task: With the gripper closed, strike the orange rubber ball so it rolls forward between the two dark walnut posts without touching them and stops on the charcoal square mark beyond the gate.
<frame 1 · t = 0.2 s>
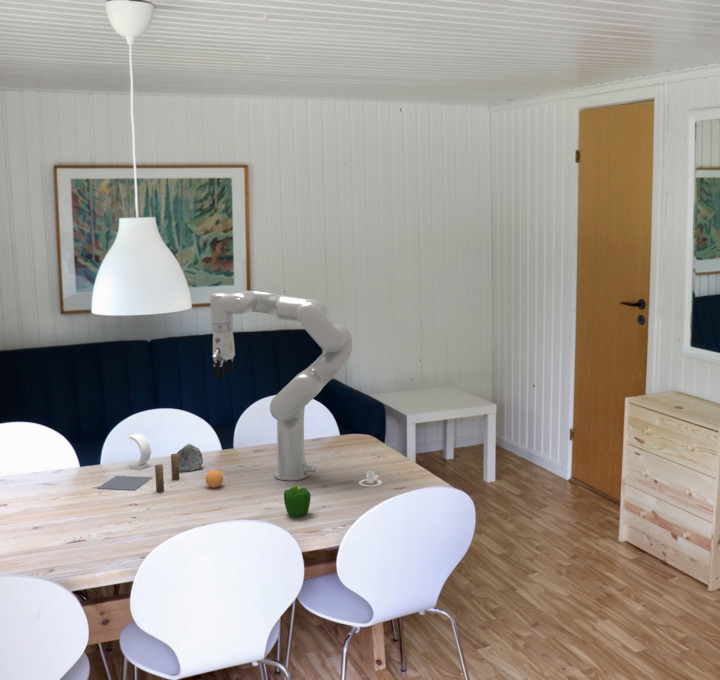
hand: (224, 375, 289), 36 cm above the table, tool pointing down, fingers open, 9 cm apart
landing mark: (125, 483, 285), on the table
post left: (160, 491, 276), on the table
headphone stand: (141, 467, 305), on the table
bell pepper: (297, 515, 252), on the table
post right: (175, 479, 289), on the table
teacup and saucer: (379, 483, 282), on the table
ball: (214, 478, 279), on the table
stone: (189, 469, 301), on the table
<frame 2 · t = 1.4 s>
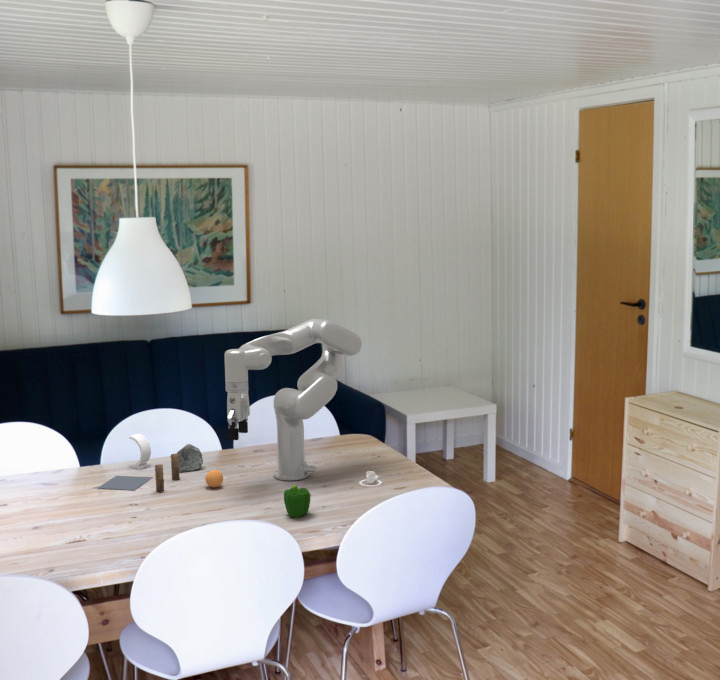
hand: (238, 436, 275), 18 cm above the table, tool pointing down, fingers open, 8 cm apart
nothing on the table moved.
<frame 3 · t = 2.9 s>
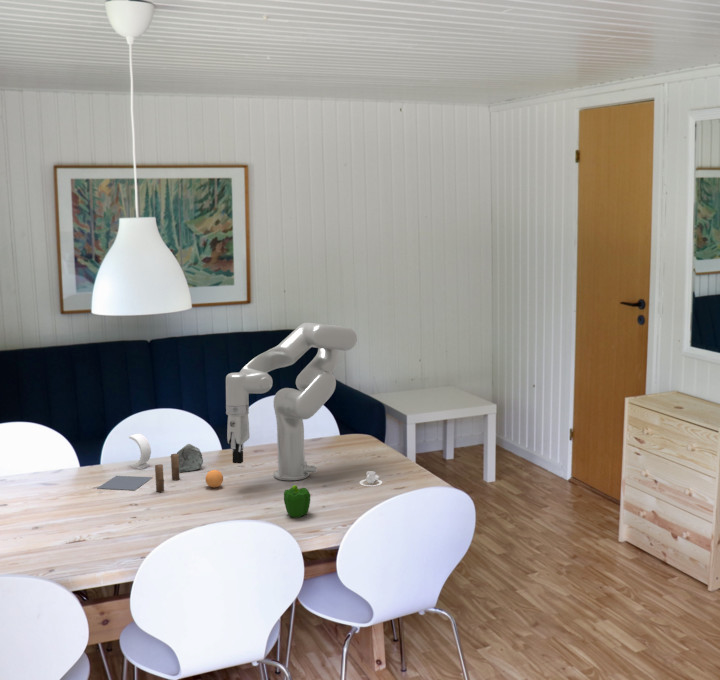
hand: (237, 462, 276), 9 cm above the table, tool pointing down, fingers closed
nothing on the table moved.
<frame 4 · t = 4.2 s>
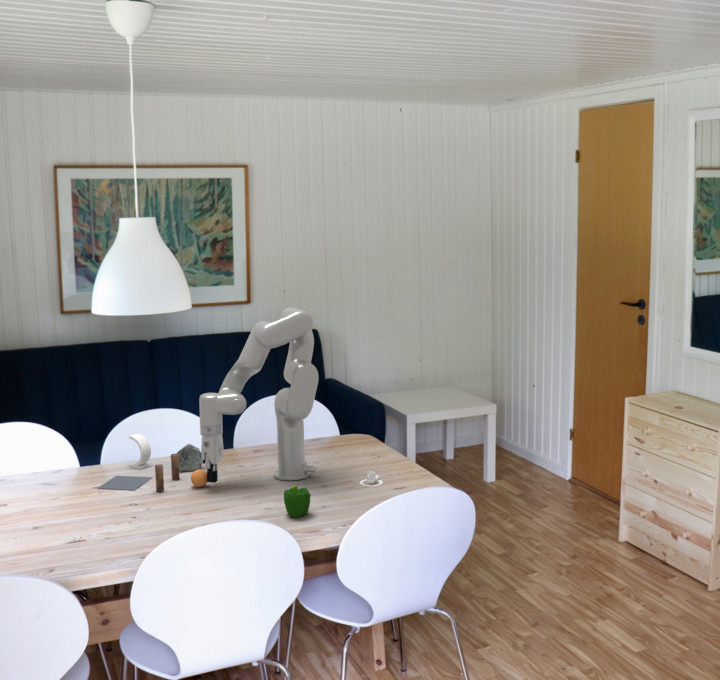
hand: (212, 481, 279), 2 cm above the table, tool pointing down, fingers closed
ball: (199, 478, 280), on the table
everything else where it was.
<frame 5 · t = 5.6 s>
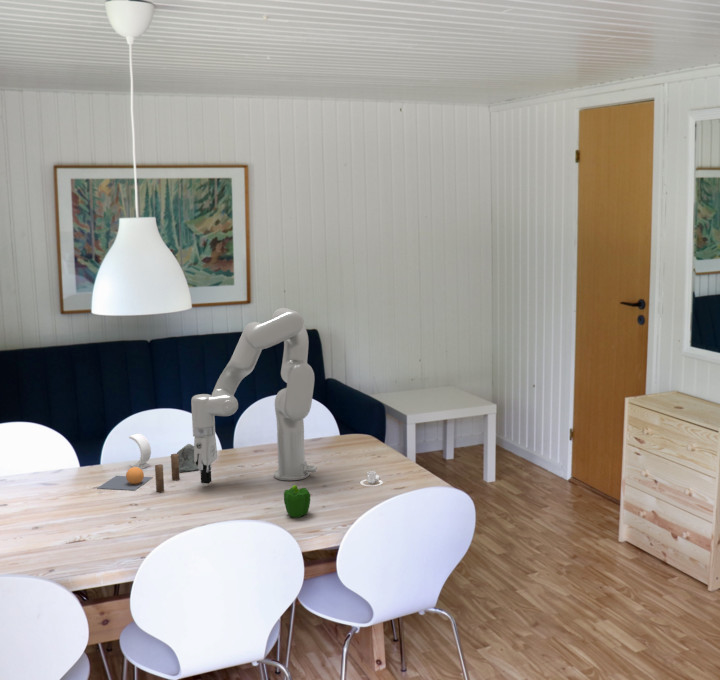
hand: (206, 482, 280), 2 cm above the table, tool pointing down, fingers closed
ball: (134, 475, 284), on the table
everything else where it was.
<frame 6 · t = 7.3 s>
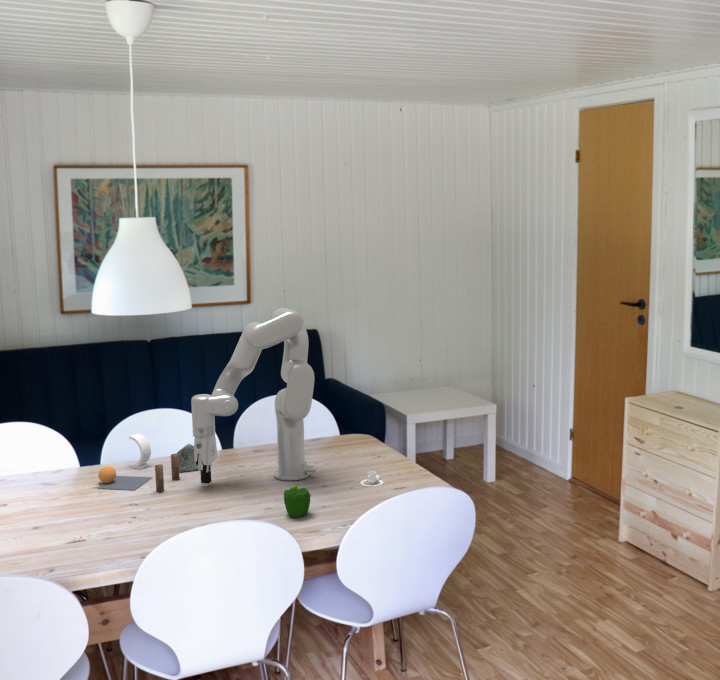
hand: (206, 482, 280), 2 cm above the table, tool pointing down, fingers closed
ball: (107, 474, 286), on the table
everything else where it was.
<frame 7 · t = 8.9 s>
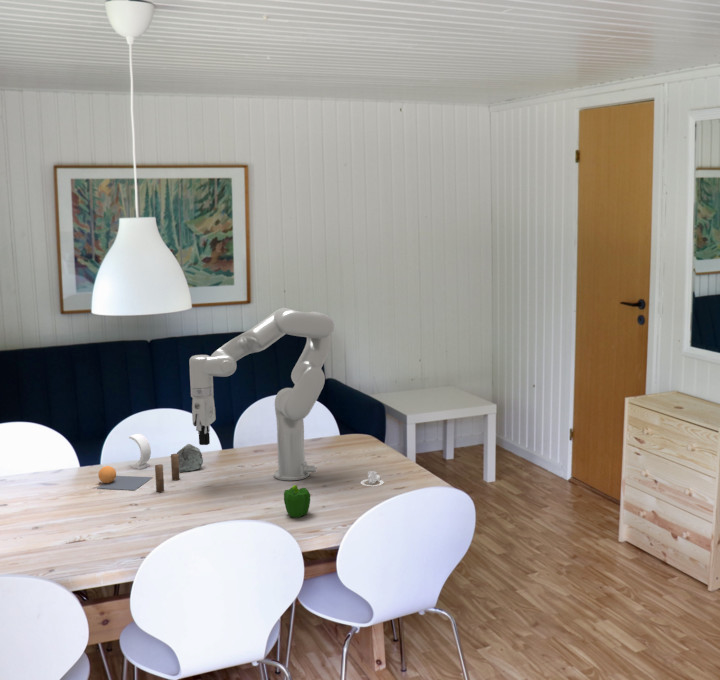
hand: (204, 444, 278), 15 cm above the table, tool pointing down, fingers closed
nothing on the table moved.
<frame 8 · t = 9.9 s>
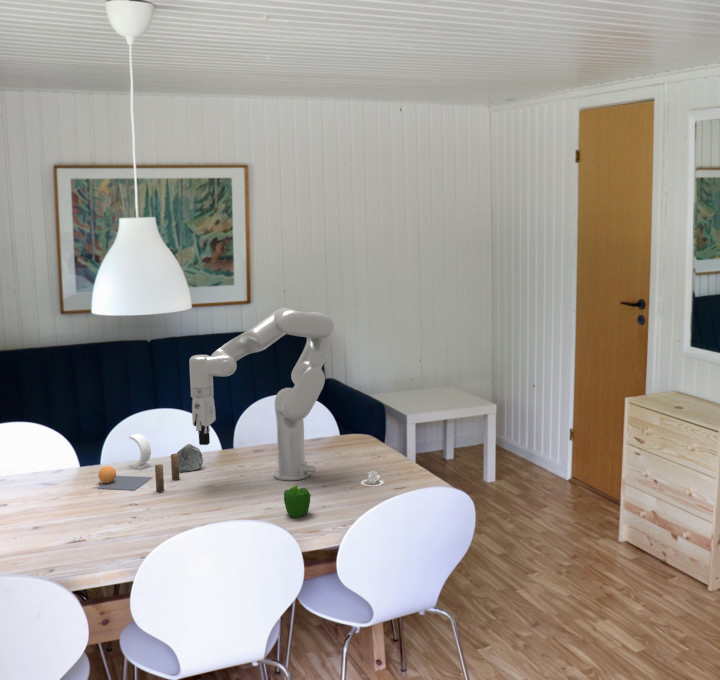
hand: (204, 444, 278), 15 cm above the table, tool pointing down, fingers closed
nothing on the table moved.
at the end: ball 6.3 cm from the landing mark (horizontally); ball never touched post left; ball never touched post right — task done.
